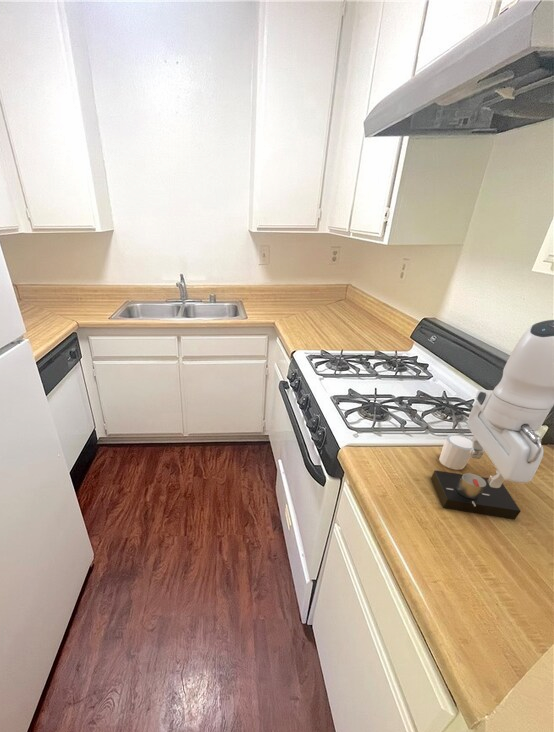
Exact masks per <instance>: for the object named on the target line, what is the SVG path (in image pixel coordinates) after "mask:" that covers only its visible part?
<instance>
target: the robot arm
mask: <svg viewBox="0 0 554 732" xmlns="http://www.w3.org/2000/svg"><path fill="white" fill-rule="evenodd" d="M553 407H554V319H547V320H543V321H539V322H535V323H534V324H532V325H530V327H529V328H527V329H526V331H525V332H524V334H522V335H521V337H520V338H519V340H518V341H517V343H516V344H515V346H514V348H513V350H512V351H511V353H510V355H509V357H508V359H507V361H506V363H505V365H504V367H503V369H502V377H501V379H500V381H499V382H498V384H496V386H494V388H493V390H492V389H479V390H478V391H477V392H476V395H475V402H474V403H473V405H472V408H471V410H470V411H469V416H468V418H467V428H468V430H469V431H470V432H471V434H472V449H471V451H470V455H471V456H472V457H471V458H472V459H476V460H481V459H482V456H483V455H484V453H485V454H486V455H487V457H488V458H489V460H490V461H491V463H492V464H493V466H494V467H495V468H496V470H495V473H496V474H495V475H491V474H490V475H489V476H488V478H489V479H488V480H487V482H488V484H489V485H490V487H493V488H500V487H501V485H502V483H503V484H504V483H505V482H508V483H514V484H527V483H530V482H531V481H532V480H533V478H534V477H535V474H536V473H537V471H538V468H539V466H540V464H541V463H542V460H543V457H544V447H543V445H542V440H543V439H542V438H541V437H540V435H539V434H537V433H536V432H537V431H538V430H540V429H541V427H542V425H543V424H544V422H545V420H546V419H547V417H548V415H549V413H550V412H551V410H552V408H553Z"/></svg>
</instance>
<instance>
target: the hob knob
mask: <svg viewBox="0 0 554 732" xmlns="http://www.w3.org/2000/svg"><path fill="white" fill-rule="evenodd" d="M462 474H463V473H462ZM481 477H482V476H480V475H478V474H474V473H471V472H467V473H464V474H463V476H462V478H461V480H460V481H459V483H458V485H457V487H456V490H457V492H458V493H459V494H460V495H462V496H464V497H466V498H469V499H477V498H479V496H480V495H481V493H482V491H483V490H484V488H485V486H486V481H485V480H484V479H483V478H481Z"/></svg>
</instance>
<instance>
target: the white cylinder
mask: <svg viewBox="0 0 554 732" xmlns="http://www.w3.org/2000/svg"><path fill="white" fill-rule="evenodd" d="M472 440H473V438H470V437H469V436H466V435H462V434H456V433H451V434H447V436H445V440H444V443H443V445H442V449H441V452H440V455H439V459H438V461H439V462H440V464H441V465H443V466H444V467H446V468H448V469H451V470H457V471H459V470H463V469H464V468H465V467H466V465H467V464H468V462H469V461H470V460H471V458H472V456H471V455H470V451H471V449H472Z"/></svg>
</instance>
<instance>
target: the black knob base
mask: <svg viewBox="0 0 554 732" xmlns="http://www.w3.org/2000/svg"><path fill="white" fill-rule="evenodd" d="M462 476H463V473H457V472H450V471H443V470H436V469H434V471H433V473H432V475H431V477H430V480H431V483H432V485H433V488H434V490H435V493H436V495H437V498H438V500H439V502H440V505H441V507H442V509H446V510H451V511H456V512H457V511H458V512H463V513H468V514H469V513H470V514H476V515H483V516H488V517H494V518H500V519H508V520H512V521H514V520H515V521H516V518H518V516H519V515H520V513H521V512H522V510H521V509H520V507H519V506H518V504H517V503H516V501H515V500H514V498H513V497H512V495H511V494H510V492H509V491H508V489H507V488H506V487H505V484H504V482H503V483H502V485H501V487H500V488H493V487H490V485H489V484H488V482H487V480H488V479H489V477H485V476H480V477H481V478H483V479H484V480H485V481H486V486H485V488H484V490H483V491H482V493H481V495H480V496H479V498H477V499H469V498H466V497H464V496H462V495H460V494H459V493H458V492H457V490H456V487H457V485H458V483H459V481H460V480H461V478H462Z"/></svg>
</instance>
